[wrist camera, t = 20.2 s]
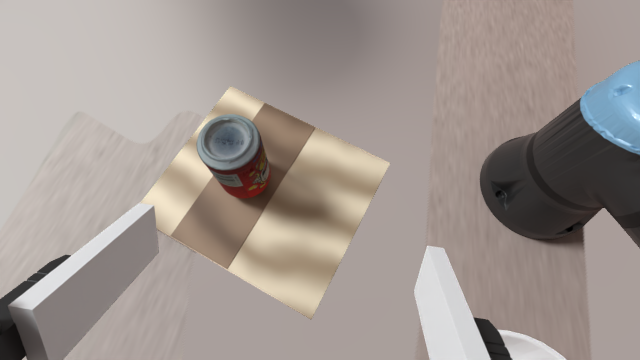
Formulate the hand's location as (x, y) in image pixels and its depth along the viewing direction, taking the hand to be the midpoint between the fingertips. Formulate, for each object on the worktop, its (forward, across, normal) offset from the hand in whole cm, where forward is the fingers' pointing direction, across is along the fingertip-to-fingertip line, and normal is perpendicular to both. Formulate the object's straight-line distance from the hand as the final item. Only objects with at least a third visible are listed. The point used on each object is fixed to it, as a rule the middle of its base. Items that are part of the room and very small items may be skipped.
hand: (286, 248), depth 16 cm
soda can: (+29, -10, -11) cm, 33 cm away
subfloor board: (+29, -8, -12) cm, 33 cm away
